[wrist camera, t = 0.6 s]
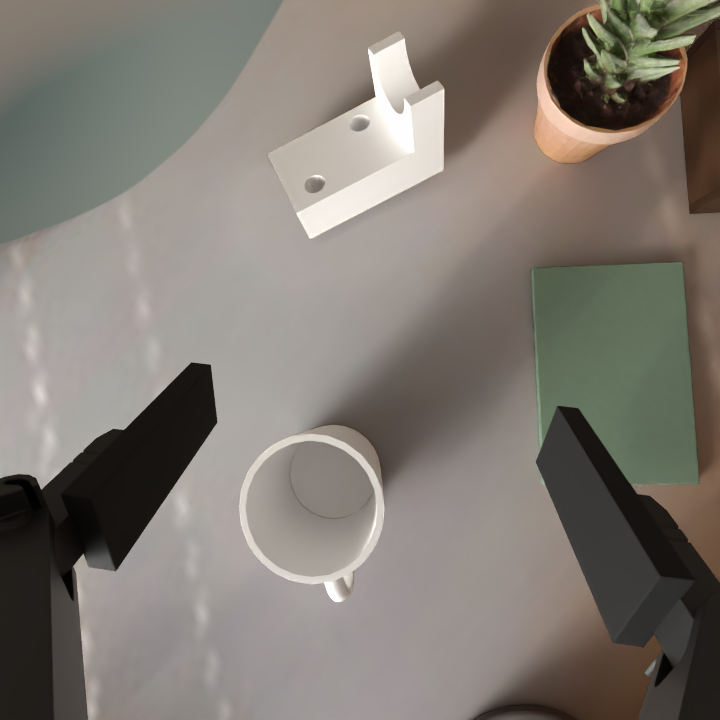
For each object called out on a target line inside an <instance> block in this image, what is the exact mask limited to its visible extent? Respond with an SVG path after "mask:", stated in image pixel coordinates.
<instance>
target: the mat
mask: <svg viewBox="0 0 720 720" xmlns="http://www.w3.org/2000/svg"><path fill="white" fill-rule="evenodd" d="M531 282H532V302H533V323H534V343H535V363H536V383H537V403H538V424H539V444H540V450H541V447H542V444H543V442H544V439H545V437H546V434H547V431H548V429H549V426H550V423H551V421H552V418H553V416H554V413H555V410H556V408H557V406H565V407H574V408H579V410H580V411H581V413H582V414H583V415H584V417H585V418H586V420H587V421H588V423H589V424H590V426H591V427H592V429H593V430H594V432H595V433H596V435H597V436H598V437H599V439H600V440H601V442H602V443H603V445H604V446H605V448H606V449H607V451H608V452H609V454H610V455H611V457H612V458H613V459H614V461H615V462H616V464H617V465H618V467H619V468H620V470H621V471H622V473H623V474H624V476H625V477H626V479H627V480H628V481H629V483H630V484H699V471H698V458H697V444H696V431H695V418H694V405H693V392H692V378H691V365H690V352H689V339H688V325H687V312H686V299H685V286H684V273H683V262H665V263H640V264H616V265H591V266H567V267H542V268H533V269H531ZM541 482H542V483H543V484H545V482H544V480H543V478H542V475H541Z"/></svg>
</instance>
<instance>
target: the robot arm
mask: <svg viewBox="0 0 720 720" xmlns="http://www.w3.org/2000/svg"><path fill="white" fill-rule="evenodd" d="M216 424H217V415H216V407H215V398H214V389H213V381H212V372H211V365H208V364H199V363H190V364H189V365H188V366H187V367H186V368H185V369H184V370H183V371H182V372H181V373H180V374H179V375H178V376H177V377H176V378H175V379H174V380H173V381H172V382H171V383H170V384H169V385H168V386H167V388H166V389H165V390H164V391H163V392H162V393H161V394H160V395H159V396H158V397H157V398H156V399H155V400H154V401H153V402H152V403H151V404H150V405H149V406H148V407H147V408H146V409H145V410H144V411H143V412H142V413H141V414H140V415H139V416H138V417H137V418H136V419H135V420H134V421H133V422H132V423H131V424H130V425H129V426H128V427H127V428H126V429H125V430H118V429H112V430H110V431H109V432H107V433H105V434H103V435H101V436H100V437H98V438H96V439H95V440H94V441H93V442H92V443H91V444H90V445H89V446H88V447H87V448H85V449H84V452H83V453H80V454H79V455H78V456H77V457H76V458H75V459H74V460H73V462H71V463H69V464H68V465H67V466H66V467H65V468H64V469H63V470H62V471H61V472H60V473H59V474H58V475H57V476H56V477H55V478H54V479H52V480H51V481H50V482H49V483H48V484H47V485H46V486H45V487H44V488H43V489H42V490H41V489H40V486H39V484H38V482H37V479H36V478H34V477H32V476H30V475H21V474H17V475H12V476H7V477H3V478H0V720H88V715H87V702H86V690H85V678H84V666H83V653H82V641H81V629H80V617H79V604H78V592H77V580H76V572H75V570H74V567H73V566H74V564H75V563H76V562H77V561H78V559H79V558H80V557H81V556H82V554H83V553H84V556H85V559H86V561H87V564H88V566H89V567H92V568H99V569H106V570H113V571H116V570H117V569H118V567H119V566H120V564H121V563H122V562H123V560H124V559H125V557H126V556H127V554H128V553H129V551H130V550H131V548H132V547H133V545H134V544H135V542H136V541H137V540H138V538H139V537H140V535H141V534H142V532H143V531H144V529H145V528H146V526H147V525H148V523H149V522H150V520H151V519H152V518H153V516H154V515H155V513H156V512H157V510H158V509H159V507H160V506H161V504H162V503H163V501H164V500H165V498H166V497H167V495H168V494H169V493H170V491H171V490H172V488H173V487H174V485H175V484H176V482H177V481H178V479H179V478H180V476H181V475H182V473H183V472H184V471H185V469H186V468H187V466H188V465H189V463H190V462H191V460H192V459H193V457H194V456H195V454H196V453H197V451H198V450H199V449H200V447H201V446H202V444H203V443H204V441H205V440H206V438H207V437H208V435H209V434H210V432H211V431H212V429H213V428H214V426H215V425H216ZM536 464H537V466H538V468H539V471H540V473H541V475H542V478H543V480H544V482H545V485H546V487H547V489H548V492H549V494H550V497H551V499H552V501H553V504H554V506H555V508H556V511H557V513H558V515H559V518H560V520H561V522H562V525H563V527H564V529H565V532H566V534H567V536H568V539H569V541H570V543H571V546H572V548H573V550H574V553H575V555H576V557H577V560H578V562H579V564H580V567H581V569H582V572H583V574H584V576H585V579H586V581H587V583H588V586H589V588H590V590H591V593H592V595H593V597H594V600H595V602H596V604H597V607H598V609H599V611H600V614H601V616H602V618H603V621H604V623H605V625H606V628H607V630H608V632H609V635H610V637H611V640H612V642H613V643H619V644H626V645H633V646H640V647H644V646H645V645H646V643H647V642H648V641H649V640H650V638H651V637H652V636H653V635H654V634H655V636H656V638H657V640H658V642H659V643H660V645H661V647H662V649H663V650H662V652H661V653H660V654H659V655H658V656H657V658H656V659H655V660H654V661H653V662H652V664H651V665H650V666H649V667H648V669H647V670H646V671H645V672H644V674H646V675H647V676H648V677H649V676H650V675H651V674H652V675H651V679H650V682H649V685H648V689H647V692H646V695H645V698H644V702H643V705H642V708H641V711H640V715H639V718H638V720H720V583H719V581H718V580H717V578H716V577H715V576H714V574H713V573H712V572H711V570H710V569H709V568H708V566H707V565H706V563H705V562H704V561H703V559H702V558H701V557H700V555H699V554H698V553H697V551H696V550H695V548H694V547H693V546H692V544H691V543H688V539H687V537H686V536H685V535H684V533H683V532H682V531H681V529H678V525H677V524H676V522H675V521H674V520H673V518H672V517H671V516H670V514H669V513H668V512H667V510H666V509H664V508H663V507H662V506H661V505H660V504H659V503H657V502H656V501H655V500H654V499H653V498H652V497H650V496H647V495H639V494H637V493H636V492H635V490H634V489H633V487H632V486H631V484H630V483H629V481H628V480H627V479H626V477H625V476H624V474H623V473H622V471H621V470H620V468H619V467H618V465H617V464H616V462H615V461H614V459H613V458H612V457H611V455H610V454H609V452H608V451H607V449H606V448H605V446H604V445H603V443H602V442H601V440H600V439H599V437H598V436H597V435H596V433H595V432H594V430H593V429H592V427H591V426H590V424H589V423H588V421H587V420H586V418H585V417H584V415H583V414H582V413H581V411H580V410H579V408H574V407H565V406H557V408H556V410H555V413H554V416H553V418H552V421H551V423H550V426H549V429H548V431H547V434H546V437H545V439H544V442H543V444H542V447H541V450H540V452H539V455H538V457H537V460H536ZM475 720H576V719H574V718H572V717H570V716H568V715H566V714H564V713H561V712H559V711H556V710H553V709H549V708H545V707H540V706H532V705H515V706H507V707H503V708H499V709H496V710H493V711H490V712H488V713H485V714H483V715H481V716H480V717H478V718H476V719H475Z"/></svg>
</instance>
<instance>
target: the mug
mask: <svg viewBox="0 0 720 720" xmlns="http://www.w3.org/2000/svg"><path fill="white" fill-rule="evenodd" d="M384 509H385V504H384V495H383V486H382V477H381V468H380V462H379V458H378V455H377V453H376V451H375V449H374V447H373V446H372V444H371V443H370V442H369V441H368V439H367V438H366V437H364V436H363V435H362V434H360V433H359V432H358V431H356V430H354V429H351V428H349V427H346V426H341V425H327V426H321V427H318V428H315V429H312V430H309V431H305V432H302V433H299V434H296V435H293V436H290V437H288V438H286V439H284V440H281V441H279V442H277V443H275V444H273V445H272V446H271V447H270V448H268V449H267V450H266V451H265V452H263V453H262V454H261V455H260V456H259V457H258V458H257V460H256V461H255V462H254V464H253V465H252V467H251V468H250V469H249V471H248V473H247V475H246V478H245V481H244V483H243V486H242V488H241V495H240V503H239V513H240V521H241V528H242V530H243V533H244V535H245V538H246V540H247V543H248V545H249V547H250V548H251V550H252V551H253V552H254V554H255V555H256V556H257V558H258V559H259V561H260V562H261V563H263V564H264V565H265V566H266V567H268V568H269V569H270V570H271V571H273V572H274V573H275V574H277V575H279V576H282V577H284V578H286V579H288V580H291V581H293V582H300V583H306V584H319V583H325V586H326V589H327V592H328V594H329V596H330V597H331V598H332V599H333V600H334V601H335V602H342V601H344V600H345V599H347V598H348V597H349V596H350V595H351V593H352V590H353V584H354V570H355V569H356V568H358V567H359V566H360V565H361V564H363V563H364V562H365V560H366V559H367V558H368V556H369V555H370V553H371V552H372V551H373V549H374V548H375V546H376V544H377V541H378V539H379V536H380V533H381V531H382V528H383V519H384Z"/></svg>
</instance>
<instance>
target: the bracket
mask: <svg viewBox="0 0 720 720" xmlns="http://www.w3.org/2000/svg"><path fill="white" fill-rule="evenodd" d="M368 52H369V58H370V64H371V70H372V76H373V82H374V88H375V94H376V97H374V98H372V99H371V100H369V101H367V102H365V103H363V104H361V105H359V106H357V107H355V108H354V109H352V110H350V111H348V112H346V113H344V114H342V115H340V116H338V117H336V118H335V119H333V120H331V121H329V122H327V123H325V124H323V125H321V126H319V127H318V128H316V129H314V130H312V131H310V132H308V133H306V134H304V135H302V136H301V137H299V138H297V139H295V140H293V141H291V142H289V143H287V144H285V145H283V146H282V147H280V148H278V149H276V150H274V151H272V152H270V153H268V154H267V155H268V157H269V159H270V161H271V163H272V165H273V167H274V169H275V171H276V173H277V175H278V177H279V179H280V181H281V183H282V185H283V187H284V189H285V191H286V193H287V195H288V197H289V199H290V201H291V203H292V206H293V208H294V210H295V212H296V214H297V216H298V217H299V219H300V221H301V223H302V225H303V227H304V229H305V231H306V233H307V234H308V236H309V238H310V239H311V238H313V237H315V236H317V235H319V234H321V233H323V232H325V231H327V230H329V229H331V228H333V227H335V226H337V225H338V224H340V223H342V222H344V221H346V220H348V219H350V218H352V217H354V216H356V215H358V214H360V213H362V212H364V211H366V210H368V209H369V208H371V207H373V206H375V205H377V204H379V203H381V202H383V201H385V200H387V199H389V198H391V197H393V196H395V195H397V194H399V193H400V192H402V191H404V190H406V189H408V188H410V187H412V186H414V185H416V184H418V183H420V182H422V181H424V180H426V179H428V178H430V177H431V176H433V175H435V174H437V173H439V172H441V171H443V163H444V87H443V86H442V85H441V84H440V82H439V81H436V82H434V83H432V84H430V85H428V86H426V87H424V88H422V89H420V88H419V86H418V85H417V83H416V81H415V78H414V76H413V73H412V71H411V68H410V64H409V61H408V57H407V52H406V46H405V38H404V37H403V36H402V34H401V33H400V32H399V31H398V32H396V33H394V34H392V35H391V36H389V37H387V38H385V39H383V40H381V41H379V42H377V43H376V44H374V45H372V46H370V47H368Z"/></svg>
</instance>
